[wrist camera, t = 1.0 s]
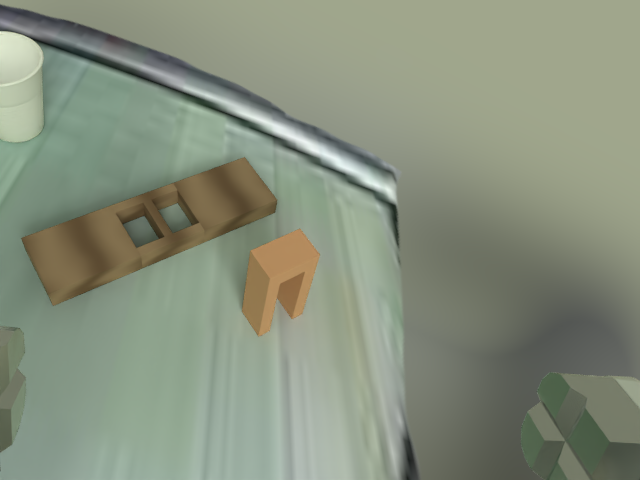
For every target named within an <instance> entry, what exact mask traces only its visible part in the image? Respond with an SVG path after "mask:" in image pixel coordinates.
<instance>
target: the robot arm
mask: <svg viewBox="0 0 640 480" xmlns="http://www.w3.org/2000/svg"><path fill="white" fill-rule="evenodd" d="M24 354H25V344H24V333H23V332H22V330H21V329H20V328H15V327H5V326H0V452H2V451H3V450H5V449H6V448H8V447H9V446H11V445H12V444H13V441H14V439H15V436H16V434H17V432H18V429H19V426H20V422H21V418H22V415H23V411H24V406H25V396H26V377H25V376H24V375H23V374H22V373H21V372H20V371H19V369H18V366H19V364H20V362H21V360H22V358H23V356H24ZM537 393H538V396H539V399H540V401H541V402H540V403H539V404H537V405H536V406H535V407H533V408H532V409H530V410H529V411H528V412H527V415H526V417H525V420H524V422H523V425H522V427H521V445H522V449H523V453H524V456H525V459H526V461H527V462H528V465H529V466H530V468H531V470H533V471H534V472H535V473H536V474H538V475H539V476H540V477H541V478H543V479H544V480H640V381H639V380H637V379H635V378H633V377H621V376H603V377H602V376H590V375H577V374H564V373H549V374H548V375H547V376H546V377H544V378H543V379H542V381H541V384H540V386H539V388H538V390H537ZM0 471H1V467H0Z"/></svg>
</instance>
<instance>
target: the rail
mask: <svg viewBox="0 0 640 480" xmlns="http://www.w3.org/2000/svg"><path fill="white" fill-rule="evenodd" d="M176 203H178V204H179V205H180V207H181V208H182V210H183V211H184V213H185V214H186V216H187V217H188V219H189V221H190V222H191V224H192V226H190V227H187V228H185V229H182V230H180V231H178V232H175V233H172V231H171V230H170V228H169V227H168V225H167V224H166V222H165V220H164V219H163V217H162V216H161V214H160V213H159V211H158V210H160V209H163V208H166V207H168V206H171V205H174V204H176ZM276 205H277V199H276V198H275V196H274V195H273V194H272V192H271V191H270V190H269V188H268V187H267V186H266V185H265V183H264V182H263V181H262V179H261V178H260V177H259V175H258V174H257V173H256V171H255V170H254V169H253V168H252V166H251V165H250V164H249V162H248V161H247V160H246V158H245V157H244V158H241V159H238V160H235V161H233V162H230V163H227V164H224V165H222V166H219V167H216V168H213V169H211V170H208V171H205V172H202V173H200V174H197V175H194V176H191V177H188V178H186V179H183V180H180V181H177V182H175V183H172V184H169V185H166V186H164V187H161V188H158V189H155V190H153V191H150V192H147V193H144V194H141V195H139V196H136V197H133V198H130V199H128V200H125V201H122V202H119V203H117V204H114V205H111V206H108V207H106V208H103V209H100V210H97V211H94V212H92V213H89V214H86V215H83V216H81V217H78V218H75V219H72V220H70V221H67V222H64V223H61V224H59V225H56V226H53V227H50V228H47V229H45V230H42V231H39V232H36V233H34V234H31V235H28V236H25V237H23V238H21V239H22V242H23V244H24V247H25V249H26V252H27V254H28V256H29V258H30V260H31V262H32V264H33V266H34V268H35V270H36V272H37V274H38V276H39V278H40V280H41V282H42V284H43V286H44V288H45V290H46V292H47V294H48V296H49V298H50V300H51V303H52V305H53V306H54V305H56V304H59V303H61V302H63V301H66V300H68V299H71V298H73V297H75V296H78V295H80V294H83V293H85V292H87V291H90V290H92V289H94V288H97V287H99V286H102V285H104V284H106V283H109V282H111V281H113V280H116V279H118V278H121V277H123V276H125V275H128V274H130V273H132V272H135V271H137V270H140V269H142V268H144V267H147V266H149V265H151V264H154V263H156V262H159V261H161V260H163V259H166V258H168V257H170V256H173V255H175V254H178V253H180V252H182V251H185V250H187V249H189V248H192V247H194V246H197V245H199V244H201V243H204V242H206V241H208V240H211V239H213V238H216V237H218V236H220V235H223V234H225V233H227V232H230V231H232V230H235V229H237V228H239V227H242V226H244V225H246V224H249V223H251V222H254V221H256V220H258V219H261V218H263V217H265V216H268V215H270V214H273V213H275V210H276ZM142 216H145V217H146V219H147V220H148V222H149V224H150V225H151V227H152V228H153V230H154V232H155V233H156V235H157V236H158V238H159V239H158V240H155V241H153V242H150V243H148V244H145V245H143V246H140V247H138V248H136V246H135V245H134V243H133V241H132V240H131V238H130V236H129V235H128V233H127V231H126V230H125V228H124V226H123V225H122V224H123V223H126V222H129V221H131V220H134V219H137V218H139V217H142Z"/></svg>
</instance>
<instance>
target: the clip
mask: <svg viewBox="0 0 640 480" xmlns="http://www.w3.org/2000/svg"><path fill="white" fill-rule="evenodd" d="M319 256H320V254H319V253H318V252H317V250H316V249H315V248H314V246H313V245H312V244H311V242H310V241H309V240H308V238H307V237H306V236H305V235H304V233H303V232H302V231H301V229H298V230H296V231H294V232H291V233H289V234H287V235H285V236H282V237H280V238H278V239H276V240H273V241H271V242H269V243H267V244H264V245H262V246H260V247H258V248H255V249H253V250H251V251H250V257H249V264H248V271H247V279H246V286H245V293H244V301H243V308H242V312H243V314H244V315H245V317H246V318H247V320H248V321H249V323H250V324H251V326H252V327H253V329H254V330H255V332H256V333H257V335H258V336H261V335H263V334H264V333H266V332H268V331H270V326H271V322H272V317H273V313H274V308H275V304H276V299H277V298H278V300H279V301H280V303H281V304H282V306H283V307H284V308H285V310H286V311H287V313H288V314H289V316H290V317H291V318H292V319H293V318H295V317H297V316H299V315H301V314H302V312H303V309H304V306H305V303H306V299H307V296H308V293H309V289H310V286H311V283H312V280H313V276H314V273H315V270H316V266H317V263H318V260H319Z"/></svg>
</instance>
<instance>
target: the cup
mask: <svg viewBox="0 0 640 480" xmlns="http://www.w3.org/2000/svg"><path fill="white" fill-rule="evenodd" d="M43 59H44V56H43V52H42V50H41V48H40V46H39V45H38V44H37V43H36V42H34V41H33V40H32V39H30V38H28V37H26V36H24V35H21V34H17V33H13V32H6V31H0V139H1V140H4V141H7V142H24V141H28V140H30V139H32V138H34V137H36V136H37V135H38V134H39V133H40V132H41V131H42V129H43V126H44V113H43V87H42V86H43V85H42V83H43V81H42V64H43Z"/></svg>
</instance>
